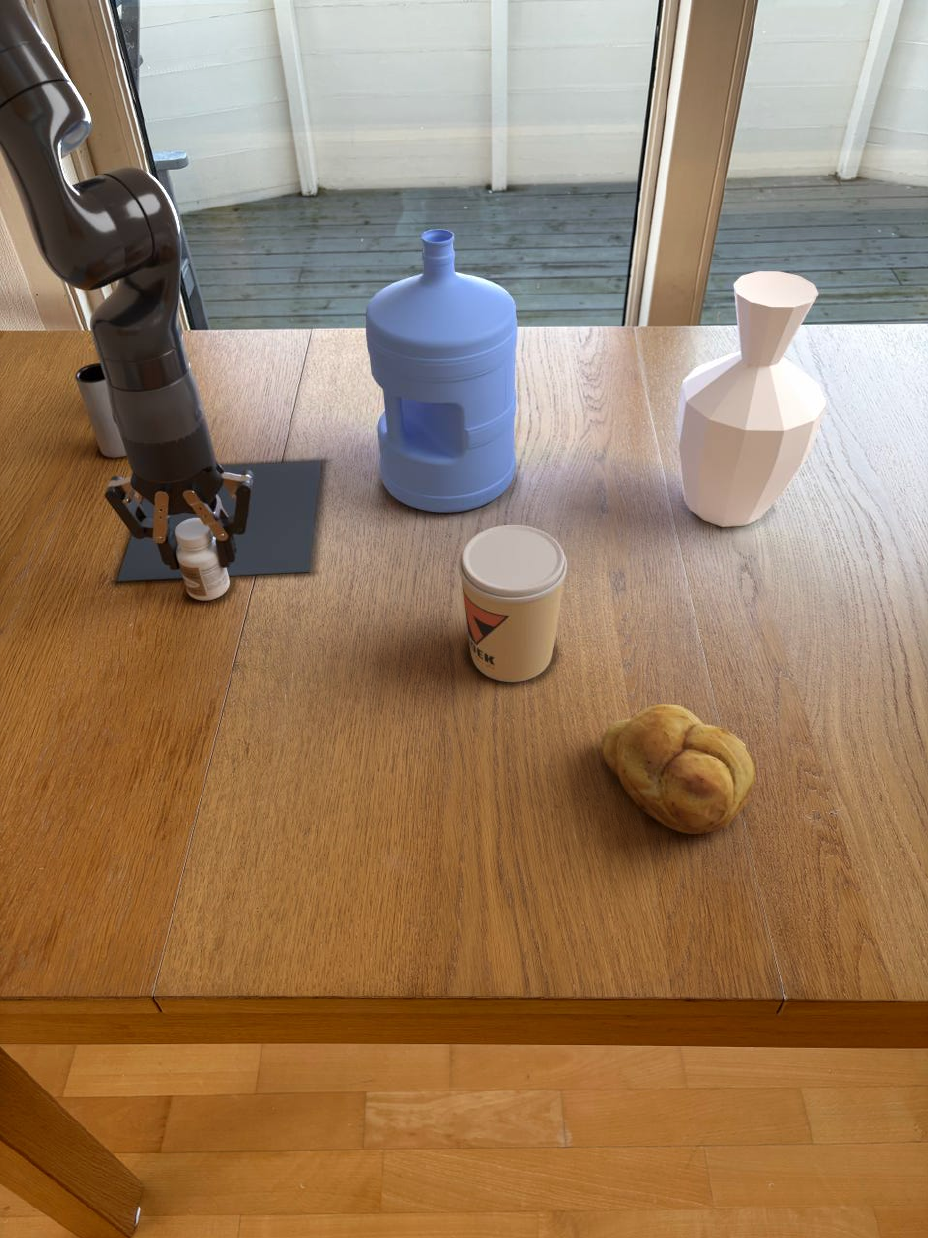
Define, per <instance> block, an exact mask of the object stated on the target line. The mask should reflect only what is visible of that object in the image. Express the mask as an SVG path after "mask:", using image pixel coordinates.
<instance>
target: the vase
mask: <svg viewBox="0 0 928 1238" xmlns="http://www.w3.org/2000/svg"><path fill="white" fill-rule="evenodd" d="M733 294H734V304H735V313H736V325H737V335H738V336H737V337H738V345H739V350H737V351H735V352H732V353H730V354H727V355H725V356H721V357H718V358H716V359H713V360H711V361H709V362H706V363H703V364H700V365H698V366H696V367H695V368H694V369H693V370H692V371H691V372H690V374H689V375H687V377H686V378H685V379H684V380H683V381H682V382H681V388H680V395H679V400H678V407H677V414H676V415H677V416H676V425H675V433H676V440H677V447H678V449H677V450H678V457H679V464H680V481H681V487H682V494H683V501H684V504H685V505H686V506H687V508H688V509H689V510H690V511H691V512H692V513H693V514H695V515H696V516H697V517H699V518H700V519H702V520H703V521H704V522H708V523H710V524H713V525H716V526H719V527H722V528H727V527H729V528H731V527H744V526H748V525H749V524H752V523H753V522H755V521H758V520H759V519H761V518H763V516H764V515H765V514H766V513H767V512H768V510H769V509H770V508H771V507H772V506H773V504H775V502H777V500H778V499H779V498H780V497H781V496H782V495H783V494H784V493H785V491H786V490H787V488H788V487H789V486H790V485H791V483H793V481H794V480H795V478H796V476H797V474H798V473H799V471H800V470H801V468H802V466H803V465H804V464H805V462H806V460H807V458H808V457H809V455H810V454H811V453H812V451H813V450H814V446H815V443H816V440H817V438H818V435H819V431H820V428H821V425H822V421H823V417H824V414H825V411H826V408H827V407H826V406H827V404H828V403H827V400H826V397H825V396H824V392H823V391H822V388H821V385H820V383H819V382H818V381H816V380H814V378H812V377H811V376H810V375H809V374H807V373H806V372H805V371H803V370H802V369H800V368H799V367H798V366H797V365H795V364H794V363H793V362H792V361H790V360H789V359H788V358H786V357H785V354H786V353H787V351H788V349H789V348H790V346H791V344H792V342H793V340H794V338H795V337H796V335H797V333H798V332H799V329H800V328H801V326H802V324H803V323H804V321H805V319H806V317H807V316H808V314H809V312H810V310H811V308H812V306H813V304H814V303H815V301H816V299H817V297H818V296H819V291H818V288H817V287H816V285H815V283H813V282H811V281H810V280H808V279H806V278H805V277H803V276H801V275H798V274H792V273H788V272H783V271H780V270H779V271H778V270H775V271H774V270H773V271H772V270H771V271H770V270H768V271H767V270H766V271H765V270H757V271H754V272H750V273H746V274H743V275H741V276H740V277H739V278H737V280H736V281H735V282H734V283H733Z"/></svg>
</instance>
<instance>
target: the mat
mask: <svg viewBox="0 0 928 1238" xmlns="http://www.w3.org/2000/svg"><path fill="white" fill-rule="evenodd" d="M220 466H221V467H222V468H223V469H224V472H226V473H232V474H237V475H241V473H242V472H243V471H245V470H249V471H251V472H252V473H253V474H254V479H253V486H252V493H251V500H250V507H249V515H248V520H247V525H246V530H245V533H244V534H242V535H238V534H233V536H234V540H235V544H236V548H237V551H236V556H235V560H234V562H231V565H230V568H227V571H228V576H229V577H245V576H259V575H260V576H263V575H266V576H267V575H281V574H282V575H284V574H285V575H287V574H303V573H304V574H305V573H310V572H311V565H312V555H313V554H312V553H313V545H314V536H315V524H316V516H317V509H318V508H317V506H318V497H319V489H320V479H321V469H322V460H313V461H293V462H271V463H270V462H269V463H249V464H229V465H227V464H226V465H220ZM217 495H218V496H219V498H220V499H221V502H222V506H223V508H224V509H225V511H226V513H227V514H228V516H232V515H234V514H235V506H236V499H232V496H230V494H229V490H228V488H227V487H225V486H222V487H221V489H220V490H219V492H218V493H217ZM140 504H141V506H142V507H143V509H144V510H145V512H146V513H147V514H148V516H149V517H150V519H154V508H155V506H154V505H153V504H151V503H150V502H149V501H148V500H146V499H145V498H144V497H143V499H142V501H141V503H140ZM192 518H199V517H198V515H197V514H188V513H182V514H178V515H171V519H170V529H174V532H175V529H176V527H177V526H178V525H179V524H180V523H181V522H183V521H185V520H187V519H192ZM213 537H215V535H214V534H213ZM215 538H216V537H215ZM118 573H119V574H118V576H117V579H116V582H117V583H121V582H122V583H123V582H142V581H144V582H145V581H161V580H163V581H164V580H183V576H182V573H181V570H180V568H179V570H171V569H170V566H169V565H165V564H164V563H163V561H162V558H161V555H160V552H159V549H158V545H157V543H156V542H155V541H154V540H153V539H152V538H149V537H144V538H143V539H137V538H135V537H134V536H133V535H132V534H131V536H130V539H129V542H128V545H127V548H126V551H125V554H124V557H123V561H122V564H121V566H120V569H119V572H118Z"/></svg>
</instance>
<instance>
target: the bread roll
mask: <svg viewBox="0 0 928 1238" xmlns="http://www.w3.org/2000/svg"><path fill="white" fill-rule="evenodd" d="M601 746H602V747H601V751H602V752H601V753H602V755H603V759H604V761H605V763H606V765H607V766H608V768H609V769H610V770H611V771H612V773H614V774H615V775H616V776H617V777H618V779H619V782H620V784H621V786H622V788H623V790H624V791H625V793H626V794H627V795H628V797H629V798H630V799H631V800H633V802H635V804H636V805H637V806H638V807H639V808H640V810H642V811H643V812H644V813H646V814H647V815H648V816H649V817H651V818H653V819H654V820H655V821H657V822H658V823H660V824H662V825H663V826H665V827H667V828H668V829H671V830H673V831H677V832H679V833H682V834H685V835H690V834H691V835H700V834H701V835H702V834H707V833H711V832H715V831H717V830H720V829H723V828H727V827H728V826H729V825H730V824H731V823H732V821H733V820H734V818H735V817H736V816H737V815H738V814H739V813H740V812H741V811H742V810H743V809H744V808H746V804H747V802H748V800H749V797H750V795H751V794H752V791H753V787H754V784H755V781H756V777H755V776H756V775H755V773H756V771H755V768H754V767H755V766H754V763H753V760H752V756H751V754H750V753H749V751H748V750H747V749H746V746H747V744H745V743H744V742H743V740H741V739H739V737H737V736H736V735H735V734H733V733H731V732H730V731H729V730H728V729H726V728H722V727H719V726H715V725H713V724H705V723H703V721H702V720H701V719H699V718H698V717H697V716H696V715H695V714H694V713H693V712H691V710H688V709H687V708H685V707H683V706H682V705H679V704H665V703H664V704H663V703H660V704H656V705H653V706H649V707H646V708H643V709H642V710H640V711H638V712H637V713H636V714H634V715H633V716H632V717H631V718H629V719H620V720H617V721H614V722H613V723H611V724H610V725H609V726H608V727H607V728H606V730H605V732H604V734H603V737H602V741H601Z"/></svg>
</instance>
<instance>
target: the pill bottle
mask: <svg viewBox="0 0 928 1238" xmlns="http://www.w3.org/2000/svg"><path fill="white" fill-rule="evenodd" d="M175 535H176V539H177V542H178V546H177V549H176V556H177V560H178V563H179V567H180V570H181V573H182V576H183V579H182V580H183V582H184V587H185V589H186V592H187V594H188V595H189V596H190V597H191V598H193V599H194V600H198V601H212V600H214V599H215V600H216V599H217V598H220V597H221V596H223V595H224V594H225V593H227V591H228V590H229V588H230V585H231V581H230V576H228V571H227V568H222V566H221V562H220V558H219V554H218V550H217V547H216V543H215V540H216V538H215V537H213V533H212V531H211V530H210V528H209V527H208V526H207V525H206V526H205V525H204V524H203V522H202V521H201V519H200V518H192V519H187V520H185V521H183V522H181V523H180V524H179V525H178V526H177V527H176V529H175Z"/></svg>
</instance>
